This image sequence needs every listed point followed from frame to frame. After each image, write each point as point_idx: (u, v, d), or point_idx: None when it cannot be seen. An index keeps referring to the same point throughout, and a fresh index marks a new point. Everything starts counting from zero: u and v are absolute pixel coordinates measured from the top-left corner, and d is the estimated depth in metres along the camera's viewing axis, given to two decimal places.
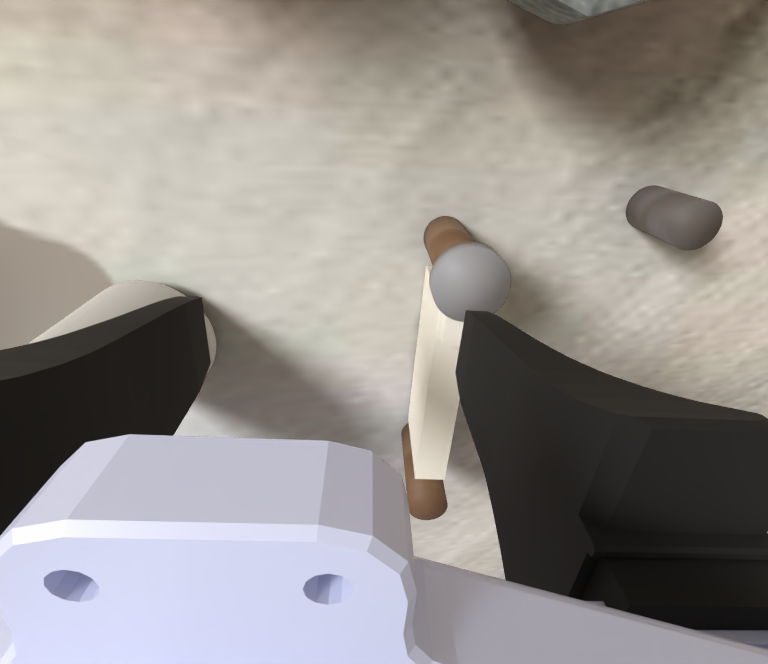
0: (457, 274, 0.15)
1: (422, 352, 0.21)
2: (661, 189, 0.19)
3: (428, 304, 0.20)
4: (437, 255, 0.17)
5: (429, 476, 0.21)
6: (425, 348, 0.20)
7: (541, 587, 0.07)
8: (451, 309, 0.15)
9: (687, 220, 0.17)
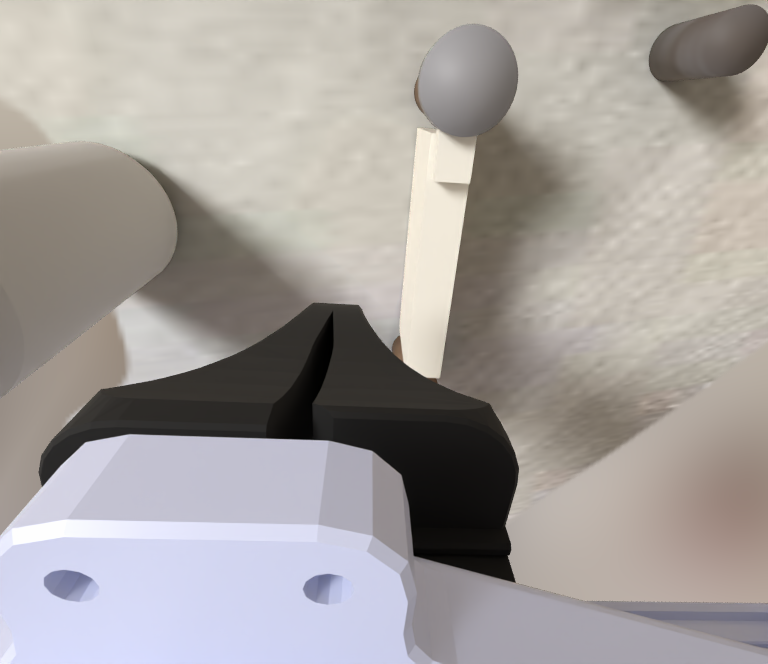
0: (451, 64, 0.12)
1: (413, 226, 0.18)
2: None
3: (419, 161, 0.17)
4: None
5: (422, 373, 0.18)
6: (416, 215, 0.17)
7: None
8: (444, 117, 0.13)
9: (728, 33, 0.14)
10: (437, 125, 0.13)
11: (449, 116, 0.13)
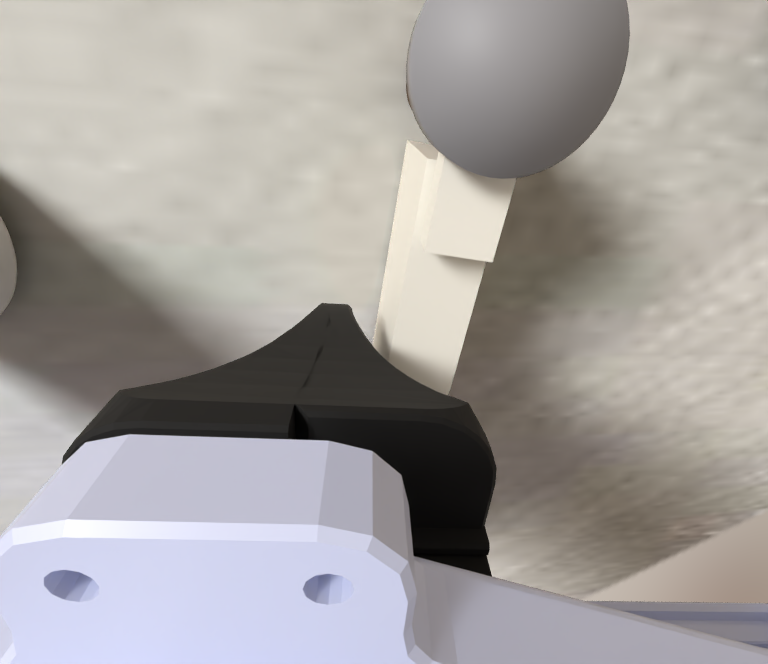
0: (485, 15, 0.05)
1: (387, 297, 0.11)
2: None
3: (404, 198, 0.10)
4: None
5: None
6: (392, 285, 0.10)
7: None
8: (458, 132, 0.06)
9: None
10: (441, 148, 0.06)
11: (468, 132, 0.06)
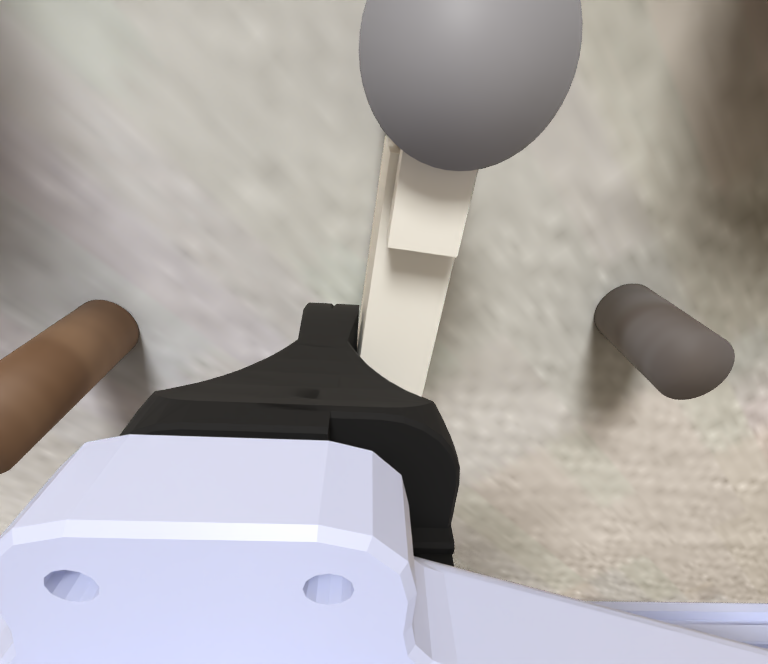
0: (433, 3, 0.05)
1: None
2: None
3: (379, 194, 0.10)
4: None
5: None
6: (367, 282, 0.10)
7: None
8: (411, 124, 0.06)
9: (696, 352, 0.11)
10: (395, 140, 0.06)
11: (421, 123, 0.06)
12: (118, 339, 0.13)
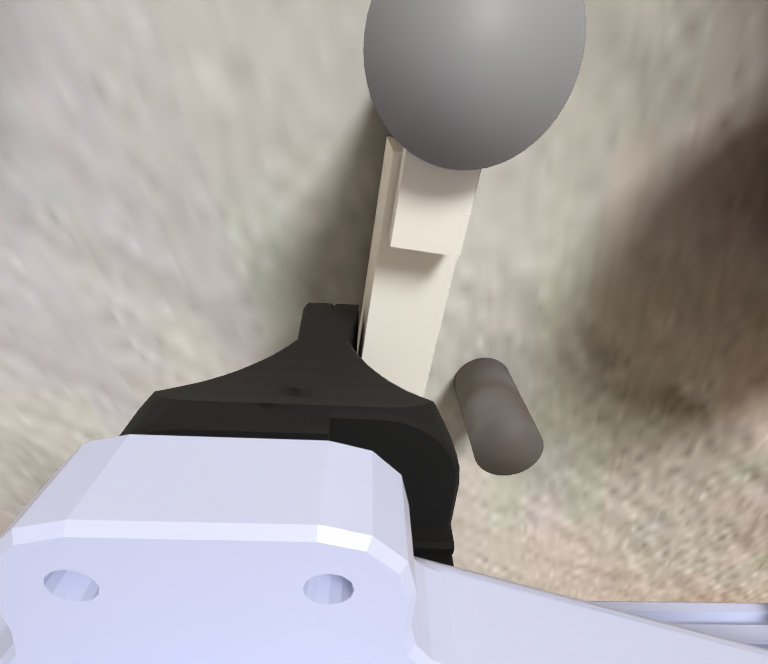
0: (437, 2, 0.05)
1: (366, 295, 0.11)
2: None
3: (381, 194, 0.10)
4: None
5: None
6: (369, 282, 0.10)
7: None
8: (415, 123, 0.06)
9: (516, 437, 0.12)
10: (398, 139, 0.06)
11: (425, 122, 0.06)
12: None
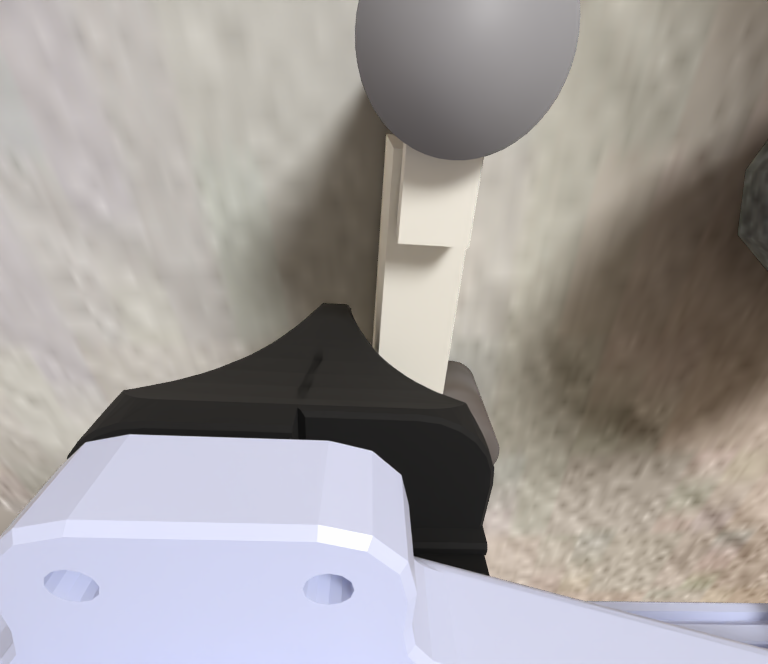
0: None
1: (378, 294, 0.11)
2: None
3: (384, 192, 0.10)
4: None
5: None
6: (380, 281, 0.10)
7: None
8: (413, 117, 0.06)
9: None
10: (398, 135, 0.06)
11: (423, 115, 0.06)
12: None
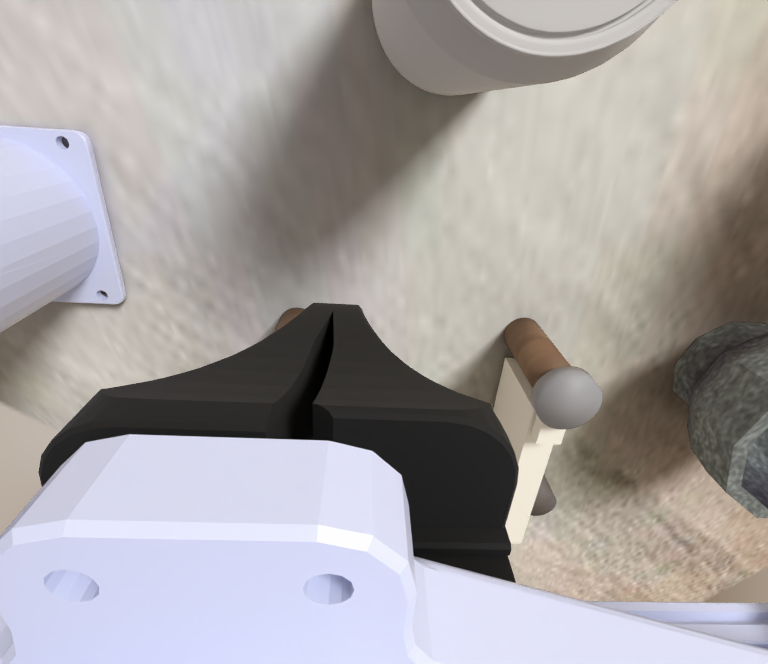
0: (559, 395, 0.18)
1: None
2: None
3: (512, 396, 0.23)
4: (561, 357, 0.20)
5: None
6: (508, 433, 0.23)
7: None
8: (551, 420, 0.19)
9: (544, 498, 0.25)
10: (545, 424, 0.19)
11: (554, 419, 0.19)
12: None
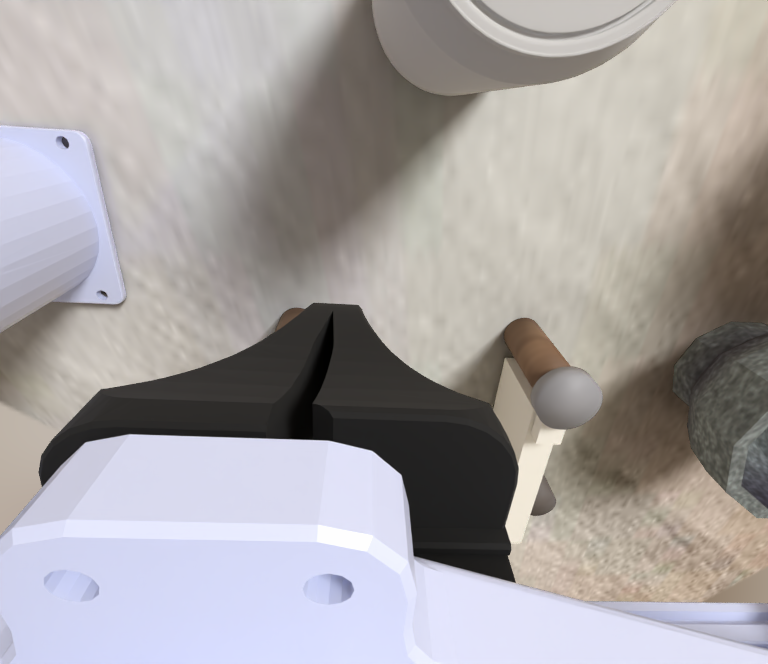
0: (559, 395, 0.18)
1: None
2: None
3: (511, 396, 0.23)
4: (561, 357, 0.20)
5: None
6: (508, 433, 0.23)
7: None
8: (551, 420, 0.19)
9: (544, 498, 0.25)
10: (545, 424, 0.19)
11: (554, 419, 0.19)
12: None
